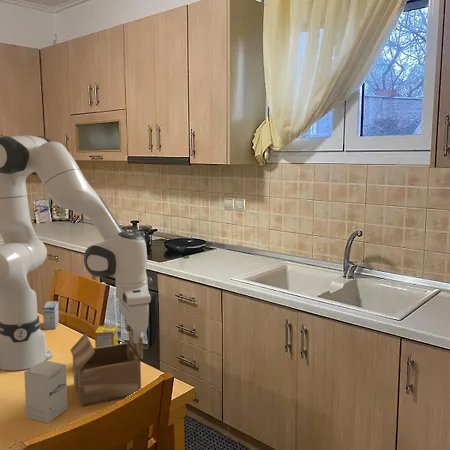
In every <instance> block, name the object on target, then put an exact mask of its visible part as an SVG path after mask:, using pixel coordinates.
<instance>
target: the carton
mask: <svg viewBox="0 0 450 450" xmlns="http://www.w3.org/2000/svg"><path fill="white" fill-rule="evenodd" d="M93 349H94V351H95V353H94V354H93V355H92V356H91V358H90V359H89V360H88V361H87V362H86V363H85V364H84V365H83V367H82V368H81V369H80V370H78V369H77V366H76V363H75V361H74V358H73V357H72V363H73V364H72V365H73V366H72V368H73V385H74V388H75V392H76V394H77V396H78V399H79V402H80V403H79V404H80V405H81V407H82V408H84V407H89V406H93V405H98V404H102V403H103V404H104V403H108V402H111V401H117V400H122V399H126V398H125V397H127V396H129V395H131V394H133V393H134V392H136V391H138V390H139V389H141V390H142V380H141V379H142V378H141V377H142V376H141V375H142V373H141V360H140V359H141V358H140V357H139V355H138V354H136V351H135V350H134V348H133V347H132V345H131V344H130V342H129V341H128V342H122V343H118V344H115V345H109V346H102V347H96V348H95V347H93ZM127 398H128V397H127Z"/></svg>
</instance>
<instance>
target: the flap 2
mask: <svg viewBox="0 0 450 450" xmlns="http://www.w3.org/2000/svg"><path fill="white" fill-rule="evenodd" d="M139 339H140V342H139V343H134V342H133V330H132V329H131V331H128V343H129V345H130V346H131V348H132V349H133V350H134V352H135V353H137V354H136V355H137V356H138V358H139V359H141V360H143V359H144V345H143V343H144V342H143V337H142V336H140V337H139Z"/></svg>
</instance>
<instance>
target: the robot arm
mask: <svg viewBox="0 0 450 450" xmlns="http://www.w3.org/2000/svg"><path fill="white" fill-rule="evenodd" d="M30 174H32V175H33V176H36V175H38V177H39V179H40V180H41V183H42V185H43V187H44V189H45V191H46V193H47V195H48V196H49V198H50V199H51V200H52V201H53V203H54V204H56V206H57V207H60V208H63V209H65V210H69V211H73V212H77V213H79V214H82V215H84V216H86V217H87V218H88V219H90V221H91V222H92V224H93V225H94V226H95V228H96V230H97V231H98V232H99V234H100V236H101V237H102V239H103V241H100V242H97V243H94V244H92V245H90V246H88V247H87V248H86V250H85V252H84V255H83V265H84V266H85V269H86V270H87V272H88V274H90V275H92V276H93V277H96V278H97V277H98V278H99V277H101V278H102V277H103V278H104V277H110V276H113V277H114V279H115V297H116V298H118V309H119V313H120V314H121V315H122V317H123V321H124V329H125V331H126V332H129V331H131V329H132V330H133V342H134V343H139V342H140V339H139V337H140V336H141V335H142V333H143V332H146V331H147V329H148V327H149V313H150V312H149V303H151V295H150V292H149V285H148V275H147V266H148V252H147V251H148V250H147V244H146V243H147V242H146V240H145V237H144V236H143V235H141V233H140V234H139V233H137V232H133V231H125V230H123V228H122V227H121V225H120V224H119V222H118V221H117V219H116V218H115V216H114V215H113V213H112V211H111V210H110V209H109V206H107V204H106V203H105V201H104V200H103V198H102V197H101V196H100V195H99V194H98V192H96V191H95V189H93V188H92V185H90V183H89V182H88V181H87V178H86V177H85V176H84V174H83V172H82V170H81V169H80V167H79V165H78V163H77V162H76V160H75V159H74V157H73V156H72V154H71V153H70V152H69V150H68V149H67V148H66V147H65V145H64V144H62V143H61V142H58V141H54V140H52V139H50V138H47V137H44V136H40V135H38V136H37V135H35V136H34V135H24V134H21V135H12V136H7V135H5V136H0V235H1V238H2V240H3V244H0V370H4V371H22V370H28V369H30V368H32V367H33V366H35V365H37V364H39V363H40V362H42V361H44V360H45V361H47V360H49V359H51V358H52V357H53V356H54V355H53V352H52V351H51V350H50V349H49V348H48V346H47V343H46V334H45V332H44V331H43V330H41V329H40V327H41V326H40V323H41V322H40V321H41V320H40V316H39V315H38V301H37V300H38V297H37V292H36V291H35V290H34V289H33V288H31V286H30V284H29V281H28V278H27V277H28V273H30V272H32V271H35V270H37V269H38V268H39V267H40V266H41V265H43V264H44V262H45V261H46V259H47V256H48V249H47V246H46V245H45V244H44V242H43V241H42V240H40V239H39V238H38V235H37V233H36V231H35V228H34V227H33V226H34V225H33V224H32V219H31V214H30V208H29V207H30V206H29V200H28V192H27V178H28V176H29V175H30ZM141 337H142V336H141Z"/></svg>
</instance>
